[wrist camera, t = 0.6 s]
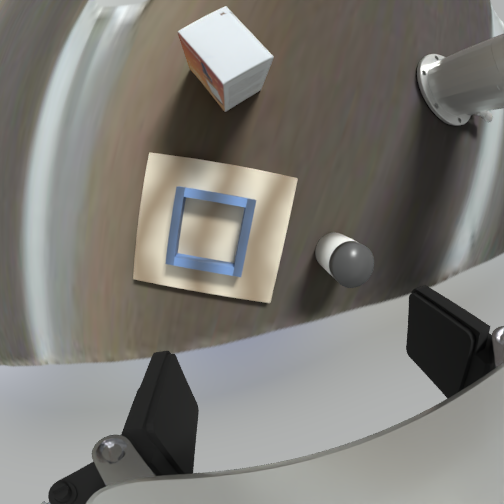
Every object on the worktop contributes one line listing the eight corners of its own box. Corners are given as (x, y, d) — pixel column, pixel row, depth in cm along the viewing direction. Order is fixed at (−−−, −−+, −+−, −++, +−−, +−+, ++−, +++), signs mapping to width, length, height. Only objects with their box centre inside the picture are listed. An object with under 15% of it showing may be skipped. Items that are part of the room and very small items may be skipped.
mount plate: (295, 178, 34) (301, 178, 31) (269, 300, 37) (272, 309, 34) (151, 153, 32) (144, 150, 29) (135, 276, 35) (128, 284, 32)
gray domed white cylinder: (354, 236, 36) (379, 248, 29) (344, 271, 37) (366, 290, 30) (320, 228, 35) (340, 239, 29) (311, 266, 36) (328, 284, 30)
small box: (189, 69, 29) (174, 30, 19) (226, 47, 29) (225, 3, 19) (224, 114, 31) (222, 86, 21) (262, 90, 31) (275, 56, 20)
